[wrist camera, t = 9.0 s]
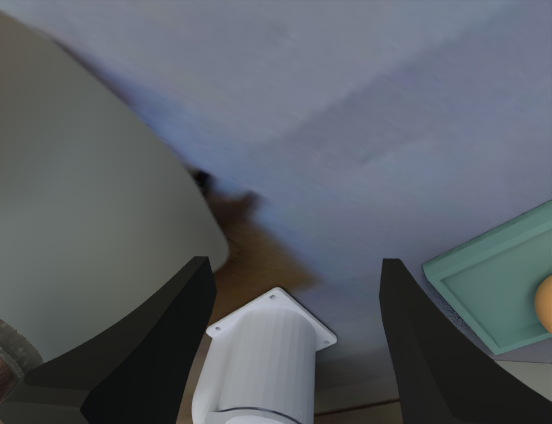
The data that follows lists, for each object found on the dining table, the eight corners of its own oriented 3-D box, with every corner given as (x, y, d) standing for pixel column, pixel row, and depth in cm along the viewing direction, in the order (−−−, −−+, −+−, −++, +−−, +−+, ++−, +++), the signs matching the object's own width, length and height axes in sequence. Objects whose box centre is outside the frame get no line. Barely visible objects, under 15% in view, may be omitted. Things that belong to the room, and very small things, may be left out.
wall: (600, 357, 27) (633, 401, 24) (585, 379, 28) (615, 422, 26) (395, 347, 29) (403, 385, 26) (392, 367, 31) (399, 405, 28)
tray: (487, 339, 27) (495, 355, 26) (421, 264, 24) (426, 278, 23) (635, 286, 23) (653, 303, 22) (578, 186, 20) (596, 198, 18)
